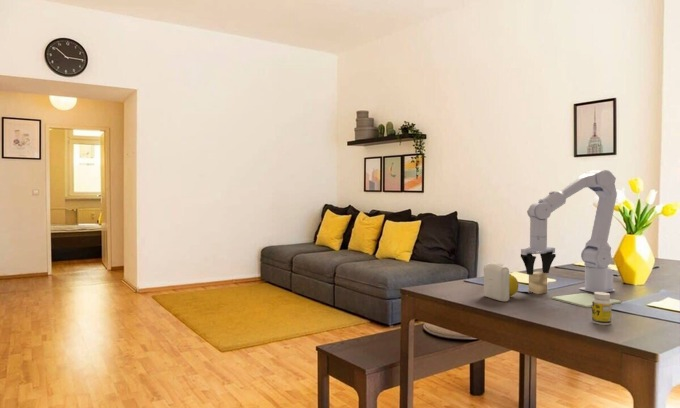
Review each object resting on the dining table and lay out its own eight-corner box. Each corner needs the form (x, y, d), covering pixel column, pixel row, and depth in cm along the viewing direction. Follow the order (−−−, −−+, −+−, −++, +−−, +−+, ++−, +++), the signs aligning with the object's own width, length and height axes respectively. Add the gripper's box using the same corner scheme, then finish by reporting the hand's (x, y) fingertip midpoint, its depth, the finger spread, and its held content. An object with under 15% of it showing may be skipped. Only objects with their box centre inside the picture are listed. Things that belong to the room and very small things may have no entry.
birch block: (537, 290, 183) (537, 271, 183) (547, 292, 179) (547, 273, 179) (528, 291, 181) (528, 272, 181) (537, 293, 177) (538, 274, 177)
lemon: (519, 299, 169) (519, 275, 169) (502, 298, 170) (502, 275, 170) (516, 295, 175) (517, 272, 174) (500, 294, 176) (500, 272, 175)
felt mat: (584, 294, 176) (585, 292, 176) (621, 302, 163) (621, 301, 163) (551, 298, 169) (551, 296, 169) (586, 307, 157) (586, 305, 157)
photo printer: (481, 296, 174) (481, 260, 174) (491, 295, 175) (492, 260, 175) (500, 302, 164) (500, 265, 164) (511, 301, 166) (511, 264, 165)
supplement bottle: (588, 320, 142) (588, 291, 141) (604, 320, 142) (604, 291, 142) (598, 325, 137) (599, 295, 137) (614, 325, 137) (615, 294, 137)
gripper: (544, 234, 186) (544, 270, 187) (514, 236, 180) (514, 273, 181) (560, 236, 180) (559, 273, 180) (529, 237, 174) (528, 276, 174)
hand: (537, 273), depth 180 cm, fingers open, 7 cm apart
